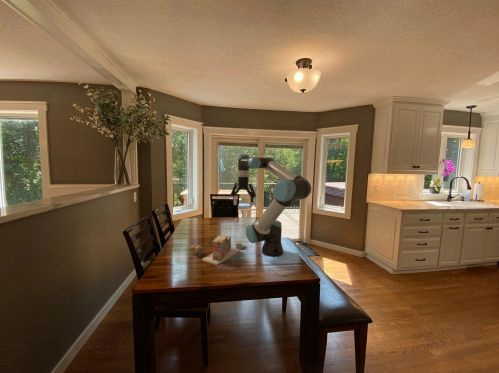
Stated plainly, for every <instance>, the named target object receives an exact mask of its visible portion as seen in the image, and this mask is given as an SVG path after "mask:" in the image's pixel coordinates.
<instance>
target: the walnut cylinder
mask: <svg viewBox="0 0 499 373" xmlns="http://www.w3.org/2000/svg"><path fill="white" fill-rule="evenodd" d="M205 257H206V247H205V246H201V245H200V247H198V258H201V259H203V258H205Z"/></svg>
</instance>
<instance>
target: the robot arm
mask: <svg viewBox="0 0 499 373" xmlns="http://www.w3.org/2000/svg"><path fill="white" fill-rule="evenodd" d="M237 156H238V158H237V175H238V177H237V181H238V182H234V184H233V187H232V191H231V193H230V195H231V196H232V201H233V205H234V206H236V205H237V204H238V198H237V197H238V196H237V194H239V191H241V190H245V191H246V192H247V193H248V194H247V195H249V208H252V207H253V204H254V200H255V198H256V197H257V194H256V191H255V190H254V187H253V183H249V181H250V180H249V171H250V170H249V169H252V170H253V169H263V170H267V171H268V172H269V173H271V174H272V175H274V176H275V177H276V178H278V179H280V180H279V181H277V182H276V183H275V184H274V187H273V191H272V192H273V199H272V201H271V202H270V203H269V205H268V206H267V208H266V209H265V210H264V212H263V213H262V214H261V216H260V217H259V218H258V219H255V221H254V222H253V223H252V224H251V225H250V224H249V225H247V226H246V227H245V236H246V238H247V240H248V242H249V243H251V244H257V243H260V242H263V245H262V247H261V253H262V254H263V255H264V256H267V257H281V256H282V255H284V247H283V244H282V231H283V230H282V222H281V221H280V220H277V219H278V218H279V217H280V215H281V214H282V213H283V211H285V209H286V208H289V207H291V206H292V205H293V203H294V202H296V201H299V200H304V199H306V198H308V197H309V196H310V194H311V192H312V186H311V182H310V181H309V180H308V179H306V178H305V177H304V176H302V175H297V174H295V173H293V172H292V171H290V170H289V169H287V168H286V167H284V166H282V165H280V164H278V163H277V162H276V160H275V159H274V158H273V157H259V156H257V157H256V156H251V157H249V156H250V155H249V154H238V155H237Z"/></svg>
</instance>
